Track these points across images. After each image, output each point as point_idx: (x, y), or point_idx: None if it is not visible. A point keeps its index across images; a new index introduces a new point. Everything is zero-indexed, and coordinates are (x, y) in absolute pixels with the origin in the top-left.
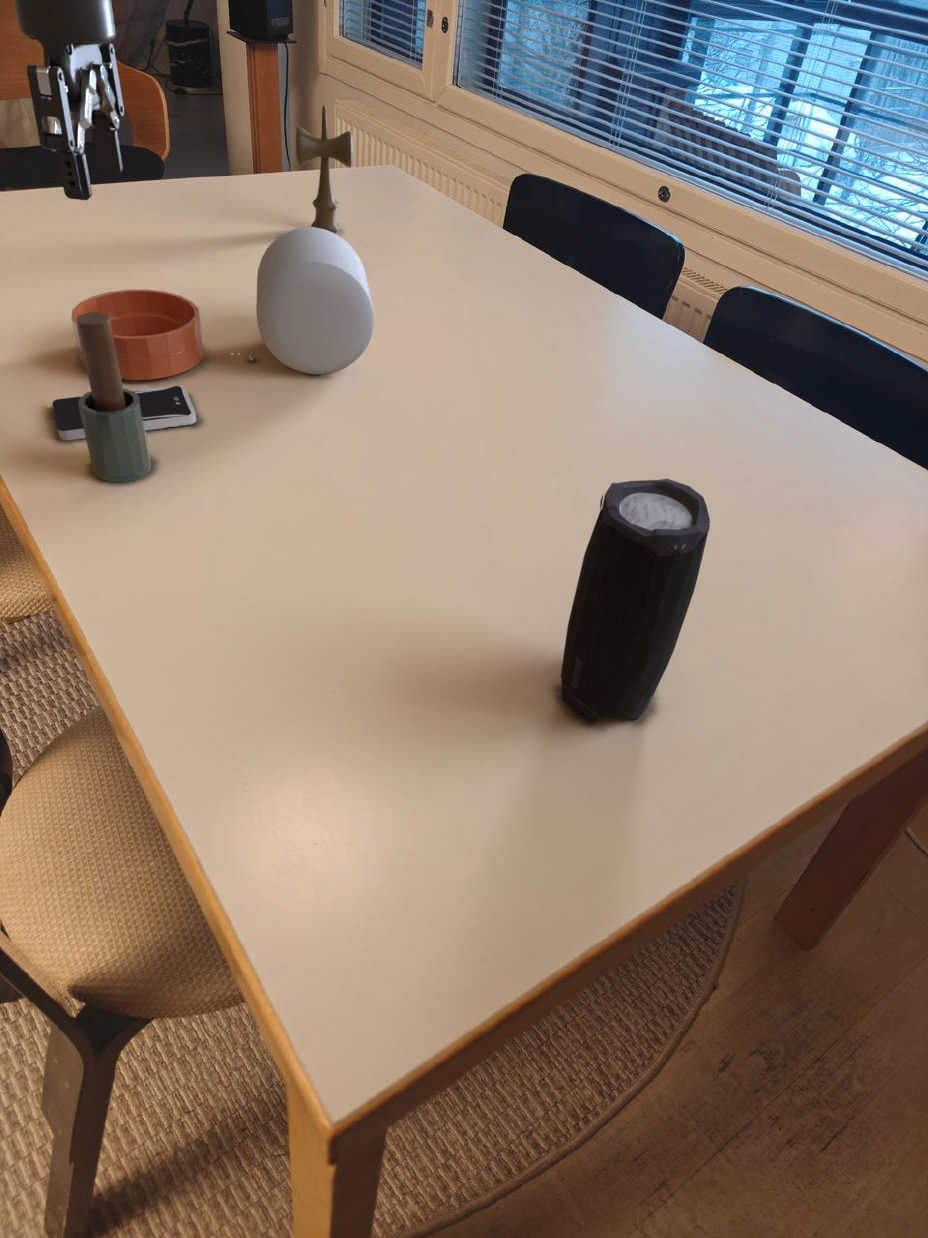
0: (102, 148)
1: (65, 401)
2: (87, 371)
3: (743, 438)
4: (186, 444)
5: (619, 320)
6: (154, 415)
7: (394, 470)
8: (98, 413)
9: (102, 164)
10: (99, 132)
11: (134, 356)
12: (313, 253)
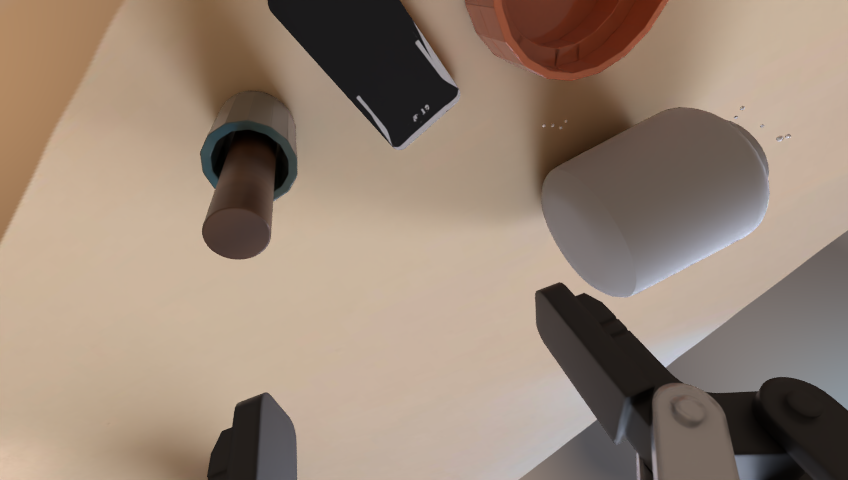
0: (578, 359)
1: None
2: (220, 175)
3: (520, 438)
4: (348, 161)
5: (681, 340)
6: (373, 108)
7: (396, 329)
8: (207, 176)
9: (547, 314)
10: (614, 406)
11: (483, 15)
12: (663, 263)
